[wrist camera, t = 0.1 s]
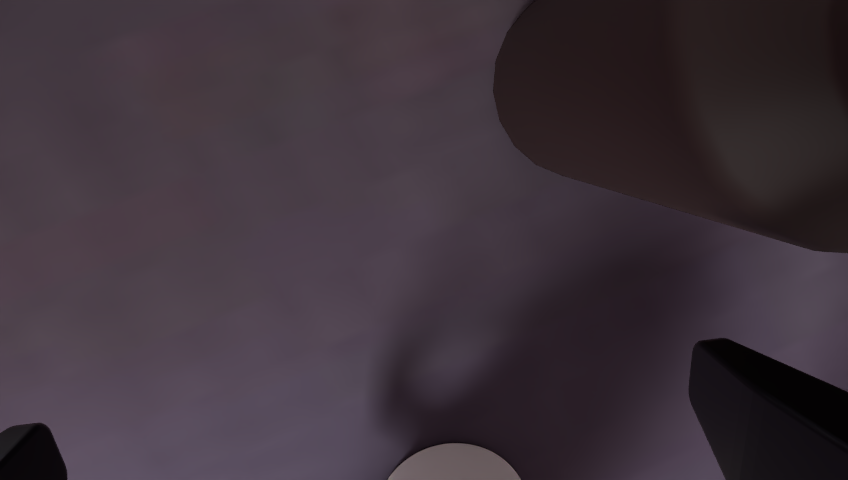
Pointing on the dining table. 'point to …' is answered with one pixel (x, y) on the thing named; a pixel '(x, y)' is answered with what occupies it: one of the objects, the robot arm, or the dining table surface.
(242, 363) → the dining table surface
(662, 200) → the bottle
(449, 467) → the mug
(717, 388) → the robot arm
